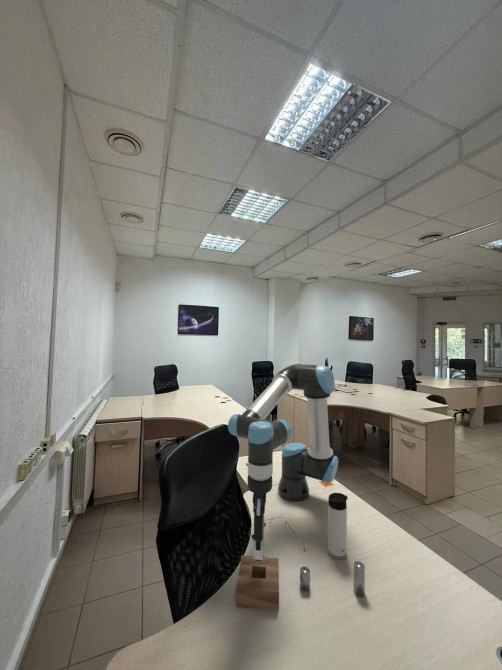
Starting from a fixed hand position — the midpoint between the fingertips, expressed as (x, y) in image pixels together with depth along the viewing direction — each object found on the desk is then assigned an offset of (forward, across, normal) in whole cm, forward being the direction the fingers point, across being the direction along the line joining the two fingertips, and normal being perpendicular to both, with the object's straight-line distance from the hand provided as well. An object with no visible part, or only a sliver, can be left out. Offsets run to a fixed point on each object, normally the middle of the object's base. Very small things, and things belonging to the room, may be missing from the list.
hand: (258, 553), depth 83 cm
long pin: (+1, 0, 0) cm, 1 cm away
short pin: (+11, -2, +14) cm, 18 cm away
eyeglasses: (+11, -19, +5) cm, 23 cm away
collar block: (+11, 0, 0) cm, 11 cm away
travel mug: (+11, -17, +27) cm, 34 cm away
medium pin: (+11, -2, +30) cm, 32 cm away
